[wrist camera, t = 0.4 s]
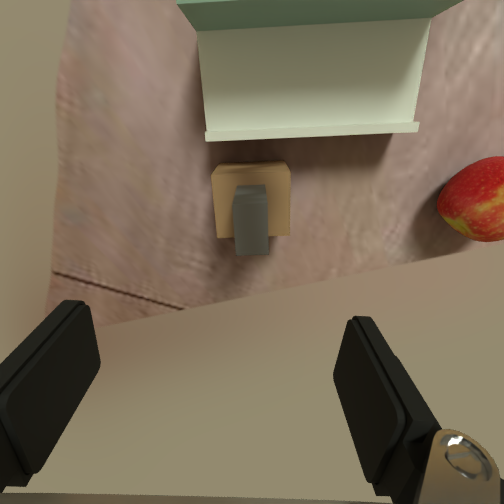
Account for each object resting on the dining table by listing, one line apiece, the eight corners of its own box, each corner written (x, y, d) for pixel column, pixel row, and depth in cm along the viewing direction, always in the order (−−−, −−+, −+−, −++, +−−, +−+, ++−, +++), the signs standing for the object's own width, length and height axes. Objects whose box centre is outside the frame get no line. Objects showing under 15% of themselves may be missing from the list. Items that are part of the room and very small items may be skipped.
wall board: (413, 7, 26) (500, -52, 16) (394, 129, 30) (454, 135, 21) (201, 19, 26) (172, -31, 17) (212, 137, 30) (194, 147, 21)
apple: (413, 191, 33) (457, 213, 25) (483, 133, 30) (555, 139, 23) (450, 236, 35) (500, 268, 28) (518, 186, 32) (593, 207, 25)
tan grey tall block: (283, 160, 31) (300, 187, 20) (283, 212, 34) (298, 265, 22) (219, 162, 32) (198, 191, 20) (224, 215, 34) (208, 268, 22)
